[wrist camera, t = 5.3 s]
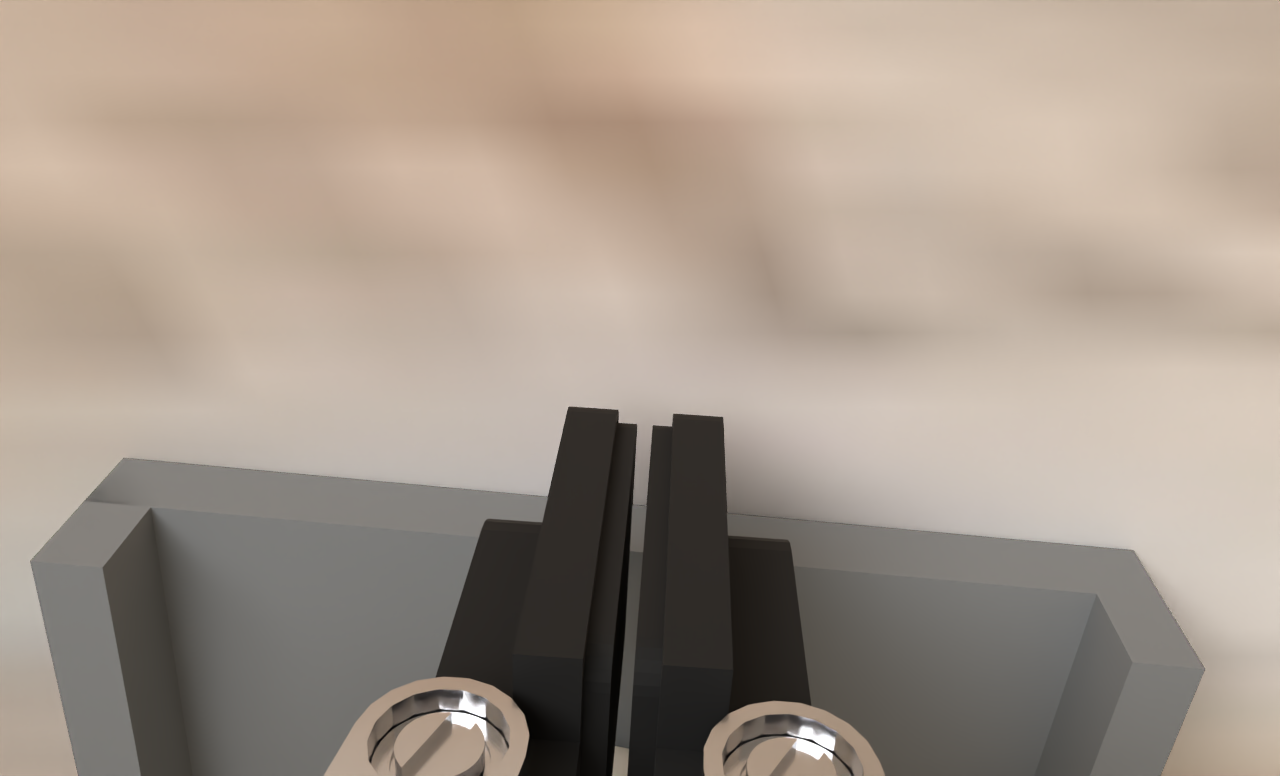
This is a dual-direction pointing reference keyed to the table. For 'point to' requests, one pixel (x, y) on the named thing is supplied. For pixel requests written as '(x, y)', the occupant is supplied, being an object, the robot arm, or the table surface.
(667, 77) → the table surface
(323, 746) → the tray
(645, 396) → the table surface
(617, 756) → the ball
